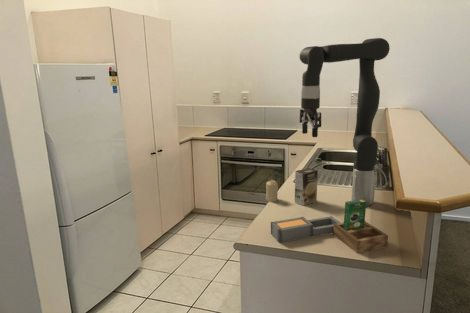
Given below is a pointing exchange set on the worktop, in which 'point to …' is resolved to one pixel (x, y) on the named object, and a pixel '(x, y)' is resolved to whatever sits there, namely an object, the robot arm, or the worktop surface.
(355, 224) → the coffee box
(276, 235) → the stand
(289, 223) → the key
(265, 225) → the worktop surface
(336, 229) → the walnut rack
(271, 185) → the candle
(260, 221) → the worktop surface
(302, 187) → the coffee box
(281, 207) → the worktop surface
